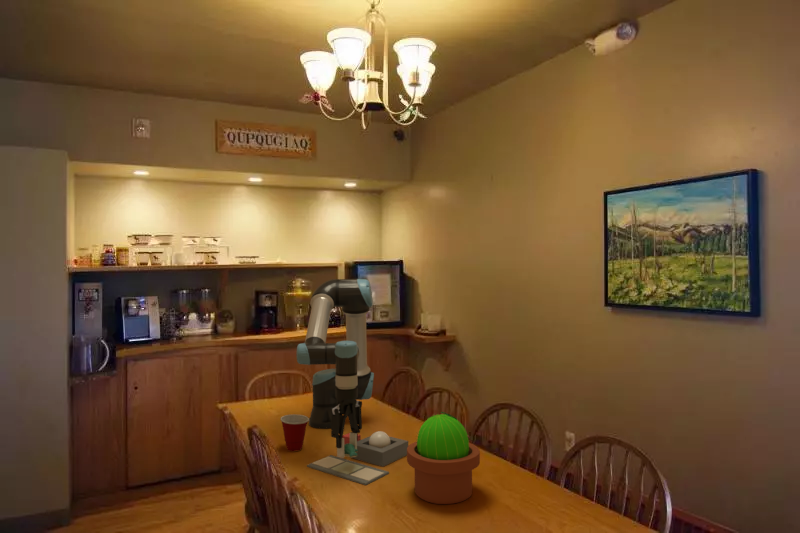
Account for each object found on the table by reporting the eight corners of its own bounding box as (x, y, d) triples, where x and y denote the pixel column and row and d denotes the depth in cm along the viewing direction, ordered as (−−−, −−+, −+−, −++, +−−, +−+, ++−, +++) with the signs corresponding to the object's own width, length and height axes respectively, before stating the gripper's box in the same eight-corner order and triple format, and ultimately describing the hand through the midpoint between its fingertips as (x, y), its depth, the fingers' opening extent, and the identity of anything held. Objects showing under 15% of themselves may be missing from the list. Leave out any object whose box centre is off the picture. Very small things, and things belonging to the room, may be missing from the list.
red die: (350, 445, 219) (350, 432, 219) (360, 447, 216) (360, 434, 216) (342, 448, 215) (341, 435, 215) (351, 451, 212) (351, 437, 212)
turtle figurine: (354, 451, 197) (354, 440, 197) (361, 458, 191) (361, 446, 191) (338, 454, 195) (338, 443, 195) (345, 460, 188) (345, 449, 188)
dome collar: (377, 446, 218) (376, 433, 218) (408, 454, 209) (408, 441, 209) (350, 457, 206) (350, 444, 206) (382, 466, 197) (382, 452, 197)
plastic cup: (303, 454, 209) (303, 422, 209) (276, 452, 212) (275, 421, 211) (313, 445, 220) (313, 414, 220) (287, 443, 222) (287, 412, 222)
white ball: (378, 448, 213) (378, 427, 213) (395, 452, 208) (394, 430, 208) (364, 454, 207) (364, 432, 206) (381, 458, 202) (381, 436, 202)
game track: (331, 456, 207) (331, 454, 207) (389, 473, 191) (389, 471, 191) (307, 466, 198) (306, 464, 198) (365, 485, 181) (365, 482, 181)
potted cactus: (430, 514, 160) (430, 427, 160) (395, 486, 180) (395, 408, 179) (493, 498, 171) (493, 416, 170) (453, 474, 190) (453, 400, 190)
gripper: (356, 380, 203) (356, 444, 204) (319, 390, 188) (319, 459, 189) (372, 383, 199) (372, 448, 199) (335, 393, 184) (336, 464, 184)
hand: (347, 454), depth 194 cm, fingers closed on turtle figurine, 6 cm apart
